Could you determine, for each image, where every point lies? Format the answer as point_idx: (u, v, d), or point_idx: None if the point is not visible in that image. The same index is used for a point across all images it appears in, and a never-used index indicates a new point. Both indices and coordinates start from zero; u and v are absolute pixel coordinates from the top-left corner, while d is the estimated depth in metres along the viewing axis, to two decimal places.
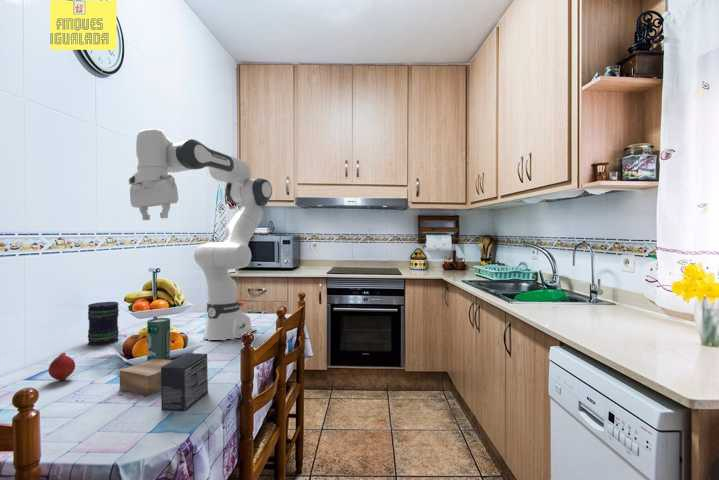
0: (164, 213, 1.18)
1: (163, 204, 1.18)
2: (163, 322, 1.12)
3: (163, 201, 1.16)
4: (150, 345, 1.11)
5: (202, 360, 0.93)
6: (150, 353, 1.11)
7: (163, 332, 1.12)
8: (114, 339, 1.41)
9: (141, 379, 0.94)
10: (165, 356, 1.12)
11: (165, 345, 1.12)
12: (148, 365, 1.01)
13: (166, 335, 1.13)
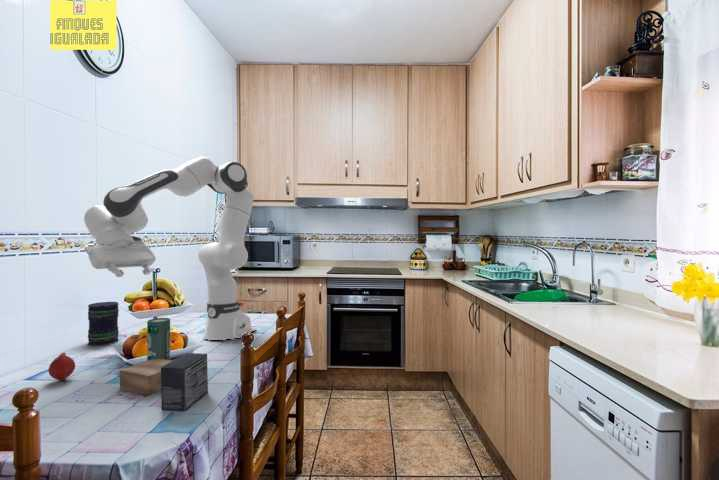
0: (115, 273, 1.16)
1: None
2: (163, 322, 1.12)
3: None
4: (150, 345, 1.11)
5: (202, 360, 0.93)
6: (150, 353, 1.11)
7: (163, 332, 1.12)
8: (114, 339, 1.41)
9: (141, 379, 0.94)
10: (165, 356, 1.12)
11: (165, 345, 1.12)
12: (148, 365, 1.01)
13: (166, 335, 1.13)
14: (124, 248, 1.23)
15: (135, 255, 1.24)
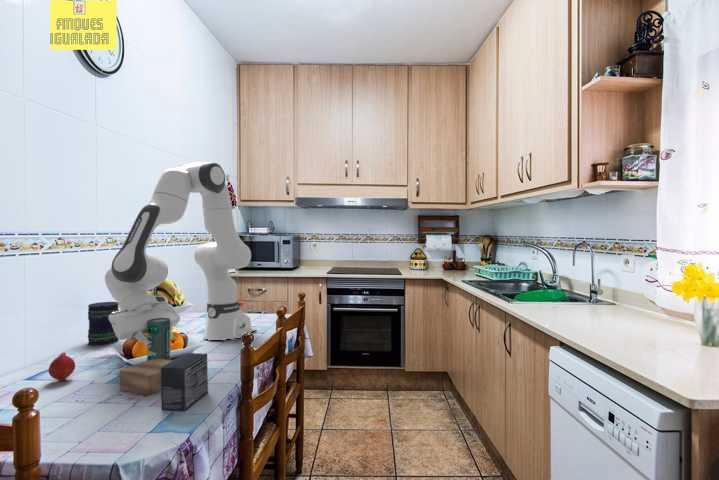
0: (143, 342, 1.10)
1: None
2: (163, 322, 1.12)
3: None
4: (150, 345, 1.11)
5: (202, 360, 0.93)
6: (150, 353, 1.11)
7: (163, 332, 1.12)
8: (114, 339, 1.41)
9: (141, 379, 0.94)
10: (165, 356, 1.12)
11: (165, 345, 1.12)
12: (148, 365, 1.01)
13: (166, 335, 1.13)
14: (148, 312, 1.16)
15: None
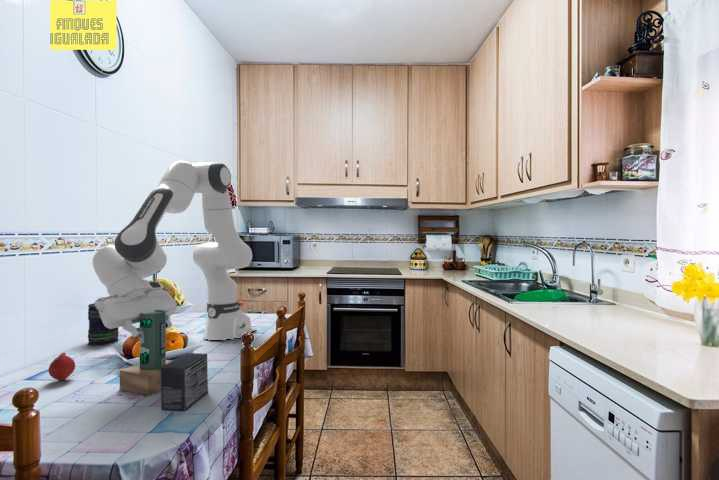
0: (132, 332, 0.96)
1: None
2: (157, 314, 0.99)
3: None
4: (143, 340, 0.98)
5: (202, 360, 0.93)
6: (143, 349, 0.98)
7: (157, 326, 0.99)
8: (114, 339, 1.41)
9: (141, 379, 0.94)
10: (160, 353, 0.99)
11: (160, 340, 0.99)
12: None
13: (161, 329, 1.00)
14: (141, 298, 1.03)
15: (154, 305, 1.04)
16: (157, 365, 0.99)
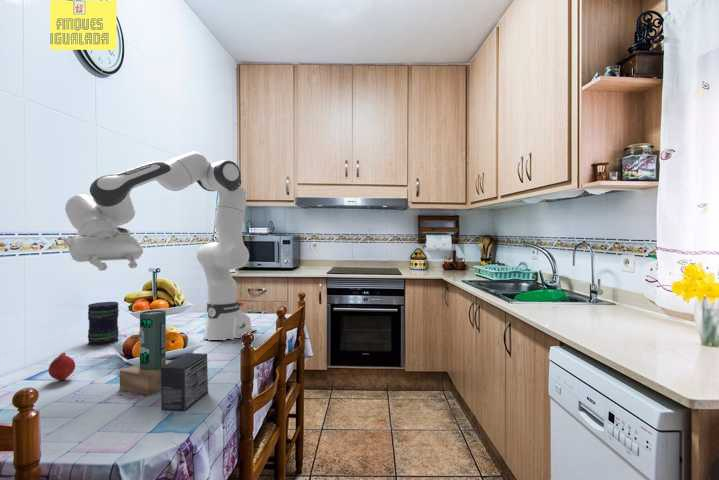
0: (98, 266, 1.07)
1: None
2: (158, 314, 0.99)
3: None
4: (143, 340, 0.98)
5: (202, 360, 0.93)
6: (143, 349, 0.98)
7: (158, 326, 0.99)
8: (114, 339, 1.41)
9: (141, 379, 0.94)
10: (160, 353, 0.99)
11: (160, 340, 0.99)
12: None
13: (161, 329, 1.00)
14: (108, 240, 1.14)
15: (120, 247, 1.16)
16: (157, 365, 0.99)
